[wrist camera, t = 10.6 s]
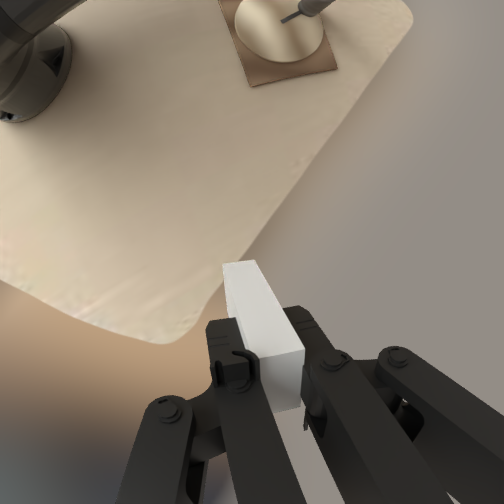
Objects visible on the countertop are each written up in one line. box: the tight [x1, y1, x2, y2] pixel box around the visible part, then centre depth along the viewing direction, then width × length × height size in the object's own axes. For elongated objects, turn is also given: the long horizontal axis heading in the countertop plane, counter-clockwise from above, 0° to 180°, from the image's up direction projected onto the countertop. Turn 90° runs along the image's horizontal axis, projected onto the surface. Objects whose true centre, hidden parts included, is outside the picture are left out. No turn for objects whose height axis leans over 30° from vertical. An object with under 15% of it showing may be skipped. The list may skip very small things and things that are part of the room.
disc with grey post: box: [234, 0, 335, 63], centre depth 25 cm, size 12×12×12 cm
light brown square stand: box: [218, 0, 338, 87], centre depth 31 cm, size 16×13×2 cm
